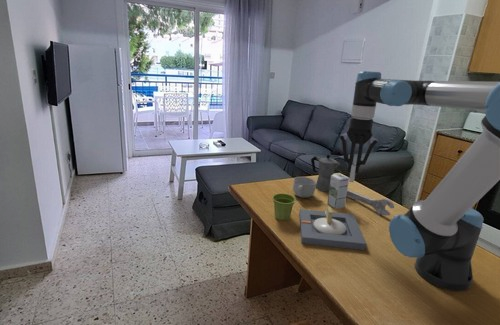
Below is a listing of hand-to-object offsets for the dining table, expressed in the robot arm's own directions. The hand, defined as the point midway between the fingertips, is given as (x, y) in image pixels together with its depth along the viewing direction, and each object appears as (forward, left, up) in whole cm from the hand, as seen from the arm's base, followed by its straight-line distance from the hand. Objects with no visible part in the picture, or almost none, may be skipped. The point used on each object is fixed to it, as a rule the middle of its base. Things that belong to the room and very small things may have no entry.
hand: (351, 180), depth 112 cm
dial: (-3, +6, -19) cm, 20 cm away
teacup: (+27, +15, -20) cm, 37 cm away
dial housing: (-3, +6, -20) cm, 21 cm away
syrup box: (+20, 0, -20) cm, 29 cm away
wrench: (+23, -13, -20) cm, 33 cm away
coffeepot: (+41, +4, -20) cm, 46 cm away
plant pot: (+4, +24, -20) cm, 32 cm away
